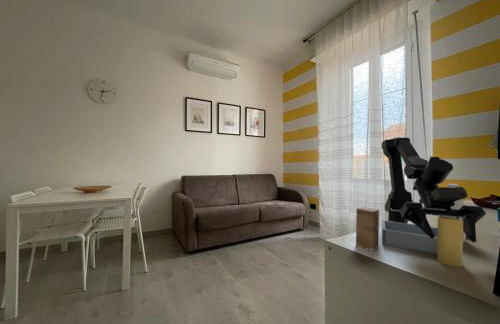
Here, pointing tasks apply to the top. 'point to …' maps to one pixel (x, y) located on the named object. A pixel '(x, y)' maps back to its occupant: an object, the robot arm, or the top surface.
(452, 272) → the top surface
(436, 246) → the tray
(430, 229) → the robot arm
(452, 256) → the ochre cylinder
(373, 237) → the walnut block
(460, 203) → the bath foam
